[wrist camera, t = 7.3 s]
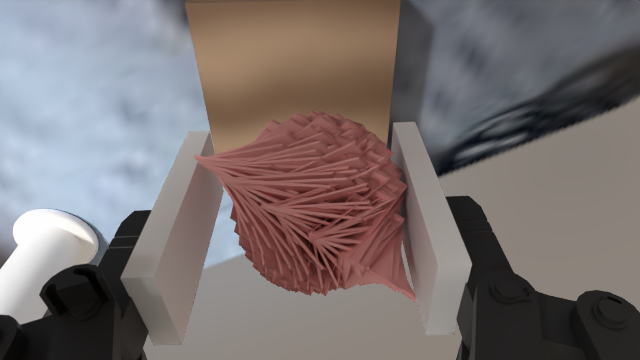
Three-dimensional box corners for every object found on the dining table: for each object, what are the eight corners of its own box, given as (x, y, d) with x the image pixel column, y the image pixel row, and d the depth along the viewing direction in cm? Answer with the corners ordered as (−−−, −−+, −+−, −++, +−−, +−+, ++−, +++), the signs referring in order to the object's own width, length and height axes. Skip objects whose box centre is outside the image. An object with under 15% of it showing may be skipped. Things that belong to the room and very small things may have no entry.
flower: (442, 101, 8) (282, 357, 7) (498, 224, 14) (413, 367, 14) (214, 28, 13) (108, 182, 12) (332, 145, 19) (265, 249, 19)
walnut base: (199, -14, 26) (185, 3, 23) (389, -19, 26) (401, -2, 23) (228, 146, 34) (219, 176, 30) (377, 142, 34) (384, 171, 31)
